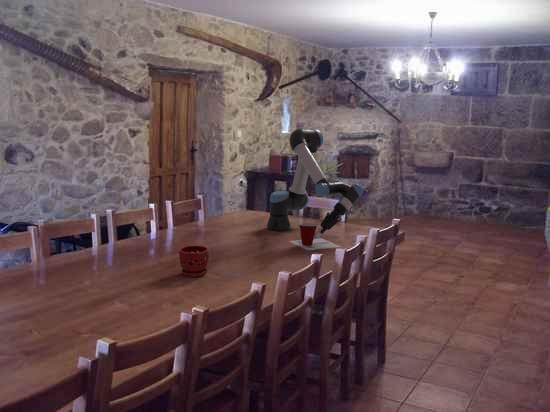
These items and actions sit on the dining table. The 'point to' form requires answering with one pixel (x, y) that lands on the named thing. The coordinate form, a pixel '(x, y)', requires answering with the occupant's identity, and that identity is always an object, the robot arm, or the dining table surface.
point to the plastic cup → (307, 232)
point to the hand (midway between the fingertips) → (316, 236)
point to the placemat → (316, 244)
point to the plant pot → (194, 260)
